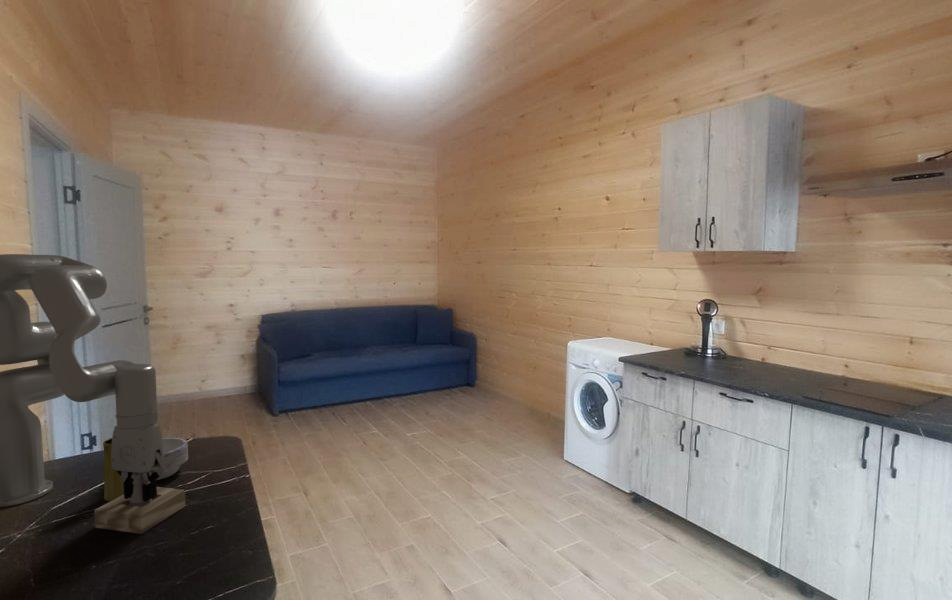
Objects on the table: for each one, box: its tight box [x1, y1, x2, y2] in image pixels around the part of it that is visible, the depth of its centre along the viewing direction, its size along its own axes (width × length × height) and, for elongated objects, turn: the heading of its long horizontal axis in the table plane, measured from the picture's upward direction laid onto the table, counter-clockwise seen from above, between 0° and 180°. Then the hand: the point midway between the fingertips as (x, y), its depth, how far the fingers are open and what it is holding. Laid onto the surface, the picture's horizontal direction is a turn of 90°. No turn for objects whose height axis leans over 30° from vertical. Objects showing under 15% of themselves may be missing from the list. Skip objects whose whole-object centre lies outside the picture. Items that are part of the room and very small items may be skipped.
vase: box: [102, 437, 124, 502], centre depth 119 cm, size 6×6×14 cm
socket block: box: [94, 486, 186, 535], centre depth 109 cm, size 12×12×4 cm
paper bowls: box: [149, 437, 189, 481], centre depth 131 cm, size 15×15×8 cm
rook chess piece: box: [129, 473, 152, 507], centre depth 109 cm, size 4×4×8 cm
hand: (140, 496), depth 109 cm, fingers closed on rook chess piece, 4 cm apart
